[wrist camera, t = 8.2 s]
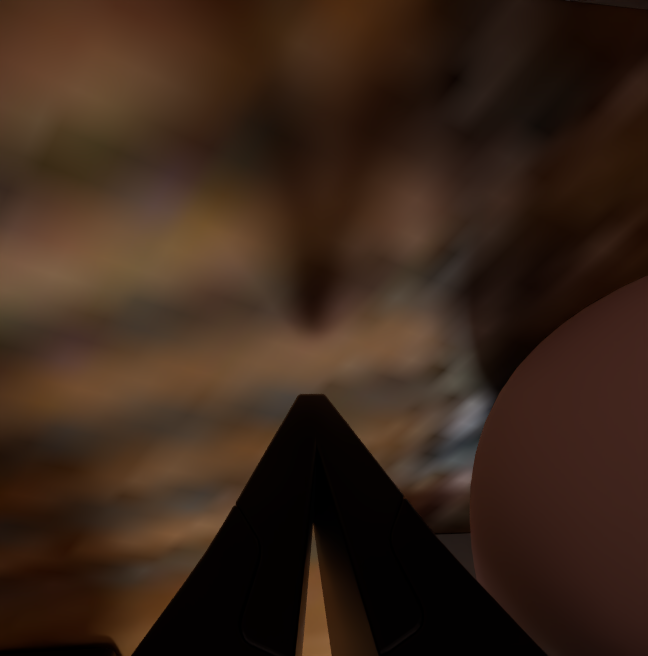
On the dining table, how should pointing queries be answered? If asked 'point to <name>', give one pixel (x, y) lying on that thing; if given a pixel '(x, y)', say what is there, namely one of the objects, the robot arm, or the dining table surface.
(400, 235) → the dining table surface
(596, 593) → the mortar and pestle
